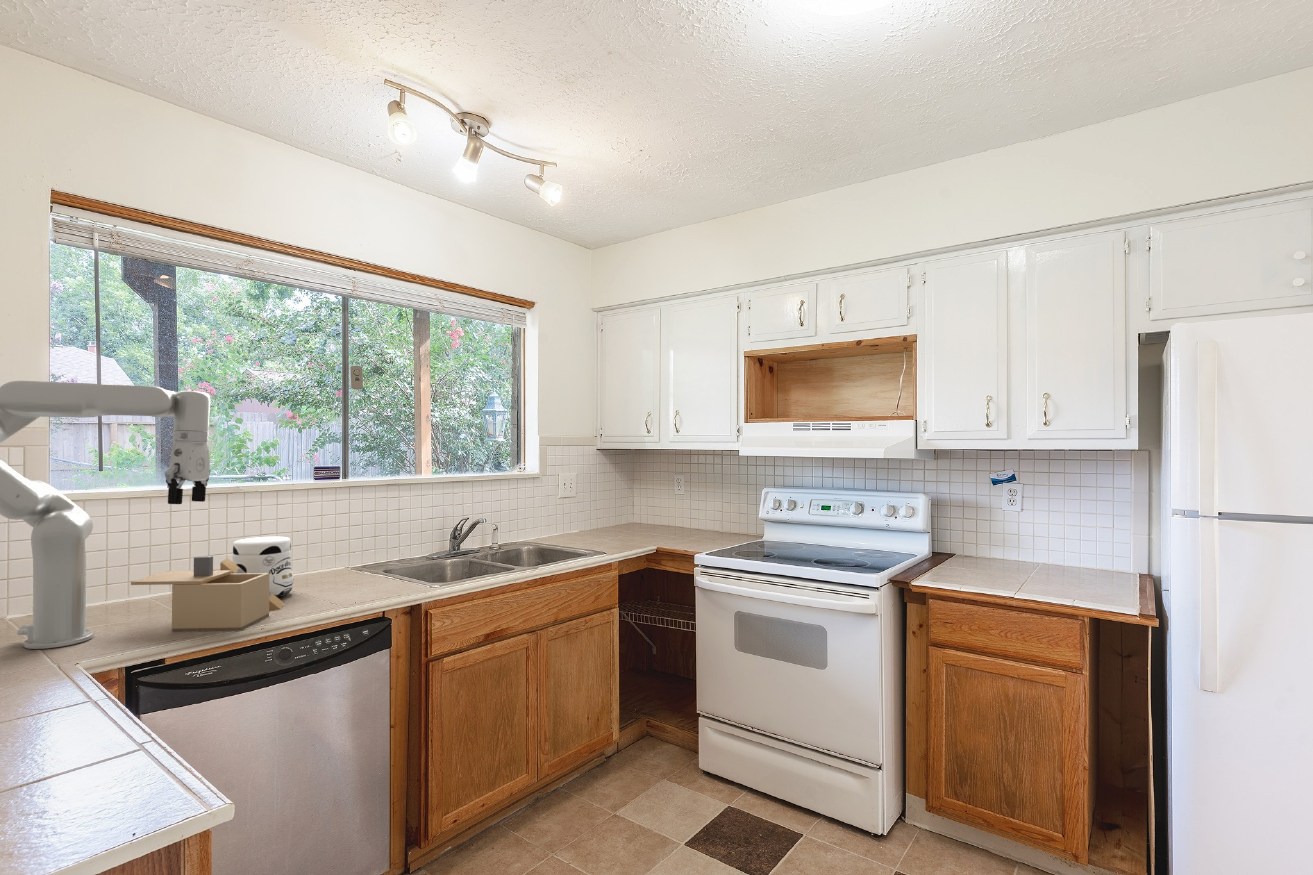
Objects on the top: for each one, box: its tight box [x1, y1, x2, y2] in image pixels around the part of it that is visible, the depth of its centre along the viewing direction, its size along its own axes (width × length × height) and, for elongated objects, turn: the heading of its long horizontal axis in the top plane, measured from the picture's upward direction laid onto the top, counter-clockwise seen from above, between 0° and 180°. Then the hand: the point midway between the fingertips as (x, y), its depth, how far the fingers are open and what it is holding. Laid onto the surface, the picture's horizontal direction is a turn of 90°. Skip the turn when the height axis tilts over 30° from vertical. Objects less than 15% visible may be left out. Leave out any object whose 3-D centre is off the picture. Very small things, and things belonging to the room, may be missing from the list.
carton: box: [171, 573, 270, 633], centre depth 175 cm, size 17×14×12 cm
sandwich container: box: [219, 557, 285, 611], centre depth 191 cm, size 9×15×15 cm, turn 113°
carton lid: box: [130, 555, 232, 586], centre depth 175 cm, size 17×14×6 cm
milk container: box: [232, 536, 295, 598], centre depth 205 cm, size 17×17×18 cm
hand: (186, 502), depth 173 cm, fingers open, 9 cm apart
